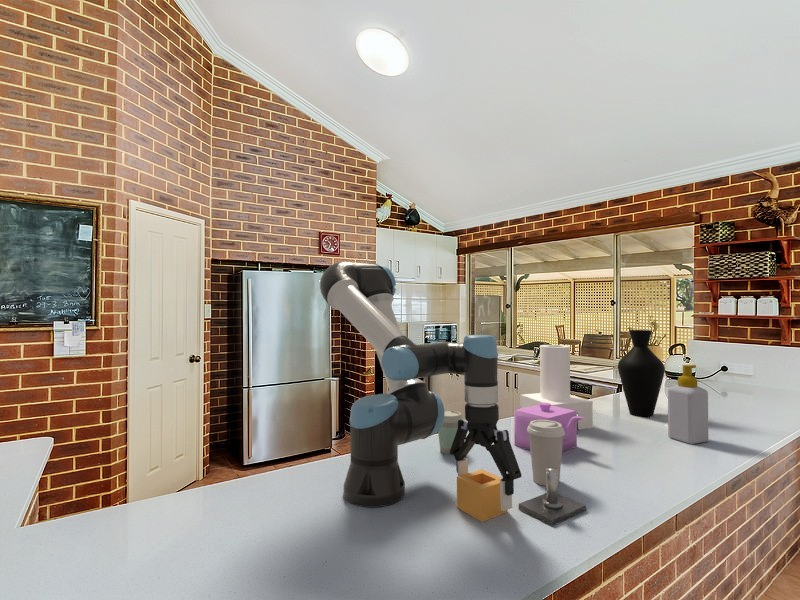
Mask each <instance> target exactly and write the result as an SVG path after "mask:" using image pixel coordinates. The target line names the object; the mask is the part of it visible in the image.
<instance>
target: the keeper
mask: <svg viewBox="0 0 800 600" xmlns="http://www.w3.org/2000/svg"><path fill="white" fill-rule="evenodd" d="M546 484H547V486H546V492H545V493H542V494H540V495H538V496H535V497H533V498H530V499H527V500H525V501H523V502H522V501H521V502H520V503H518V510H519V511H521V512H524V513H526V514H528V515H530V516H532V517H533V518H535V519H538V520H539V521H542V522H543V523H546V524H547V525H550V526H552V527H553V526H555V525H558V524H560V523H561V522H564V521H566V520H569V519H570V518H573V517H575V516H577V515H579V514H581V513H584V512H586V511H587V505H586V504H585V503H582V502H579V501H577V500H574V499H572V498H570V497H568V496H565V495H563V494H561V493H559V489H558V488H559V486H558V485H559V484H558V469H557V468H554V467H547V468H546Z"/></svg>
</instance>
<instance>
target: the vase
mask: <svg viewBox="0 0 800 600" xmlns="http://www.w3.org/2000/svg"><path fill="white" fill-rule="evenodd" d="M628 331H629V335H630V339H631V342H632V348H630V349H629V350H628V352H627V353H626V354H625V355H623V356H622V357H621V358H620V359H619V361H618V363H617V370H618V374H619V378H620V383H621V386H622V390H623V394H624V398H625V402H626V405H627V408H628V411H629V412H628V413H629V414H630V415H631V416H633V417H637V418H653V417H654V413H655V411H656V406H657V403H658V400H659V394H660V392H661V387H662V383H663V380H664V376H665V372H666V368H665V364H664V363H663V361H662V360H661V359H660V358H659V357H658V356H657V355H656V354H655V353H654V352H653V351H652V350H651V349H650V348H649V343H650V340H651V337H652V333H653V330H650V329H629V330H628Z"/></svg>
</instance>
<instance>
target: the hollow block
mask: <svg viewBox="0 0 800 600" xmlns="http://www.w3.org/2000/svg"><path fill="white" fill-rule="evenodd" d="M502 478H503V477H502V476H501V477H500V476H499V475H496V474H494V473H492V472H490V471H487V470H485V469H484V468H483V469H478V470H475V471H471V472H468V474H464V475H461V476H458V475H457V476H456V508H457V509H459V510H461V511H463V512H464V513H466V514H467V515H469V516H471V517H473V518H475V520H478V521H479V522H485V521H487V520H490V519H493V518H495V517H498V516H501V515H503V514H507V513H508V512H509V509H508V510H505V511H502V510H501V504H500V479H502Z"/></svg>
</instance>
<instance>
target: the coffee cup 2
mask: <svg viewBox="0 0 800 600" xmlns="http://www.w3.org/2000/svg"><path fill="white" fill-rule="evenodd" d="M527 432H528V433H529V440H530V450H531V451H530V450H529V451H530V460H531V468H532V469H531V470H532V480H533V482H534V483H536V484H537V485H540V486H544V487H547V484H546V468H547V467H554V468H557V469H558V485H559V484H560V478H561V464H562V454H563V453H562V443H563V436H564V435H565V431H564V429H563V428H562V425H561V424H560V423H558V422H555V421H550V420H534V421H531V422H530V425H529V426H528V428H527Z"/></svg>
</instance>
